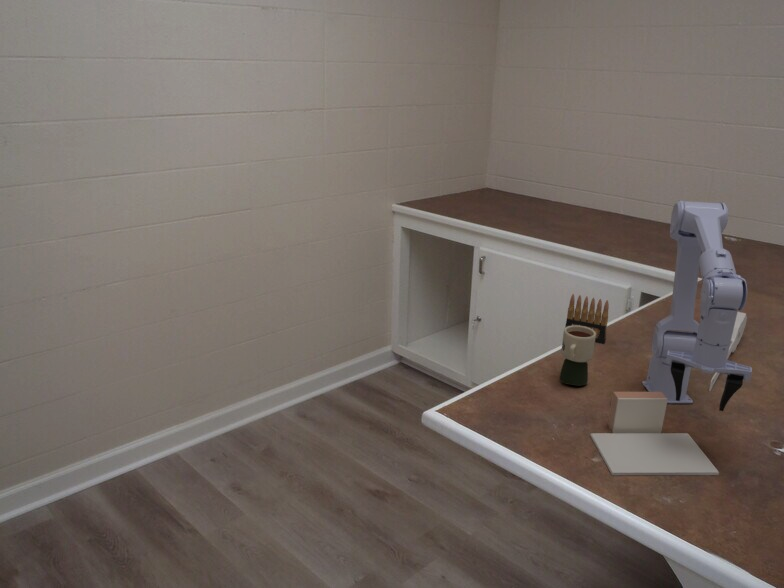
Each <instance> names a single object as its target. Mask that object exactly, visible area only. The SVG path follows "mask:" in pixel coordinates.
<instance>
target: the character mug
mask: <svg viewBox="0 0 784 588" xmlns="http://www.w3.org/2000/svg"><path fill="white" fill-rule="evenodd" d="M595 337H596V332H595V331H594V330H592V329H591V328H588V327H585V326H580V325H579V326H576V325H572V326H568V327H564V329H563V334H562V344H561V349H560V350H561V351H560V353H561V355H562V356H563V357H564V358H565V359H564V360H563V362H562V363H563V364H562V366H561V370H560V374H559V380H560V382H562V383H563V384H566V385H571V386H580V387H581V386H584V385H587V383H588V379H589V378H588V377H589V373H588V371H589V369H588V368H589V367H588V365H589V363H588V362H590V361H592V360H593V356H594V350H595V343H596V342H595Z"/></svg>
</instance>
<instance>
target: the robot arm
mask: <svg viewBox="0 0 784 588" xmlns="http://www.w3.org/2000/svg"><path fill="white" fill-rule="evenodd" d="M671 211H672V212H671V218H670V226H669V238H671V239H672V240H674V241H676V246H677V247H676V248H677V249H676V250H677V252H676V262H675V270H674V277H673V278H674V279H673V285H672V286H673V288H672V296H671V306H670V313H669V315H668V316H667V317H664V318H663V319H660V320H659V321H658V322H657V323H656V325H655V326H654V333H653V336H652V339H651V352H652V355H651V357H650V360H649V365H648V370H647V375H646V380H643V381H642V382H641V383H642V385H643V386H644V388H645V389H646V390H647V392H662V393H663V394H664V395H665V397H666V398H667V399H668V401H667V404H693V403H694V401H693V399H692V398H691V397H690V396H689V395H688V394H687V390H688V387H689V381H690V376H691V371H692V368H695V369H698V370H700V372H703V373H705V374H706V373H707V374H714V373H716V372H717V373H720V374H723V375H726V380H725V385H724V389H723V392H722V396H721V399H720V401H719V402H720V403H719V408H718V410H719V411H720V412H724V411H725V408H726V406H727V404H728V403H729V401H730V399H731V398H732V397H733V396H734V394H735V393H737V391H739V390H740V389H741V388H742V386H743V383H744V381H750V380H751V377H752V373H753V367H751V366H747V365H743V364H740V363H737V362H735V361H731V360H729V359H727V356H728V351H729V347H730V342H731V338H732V334H733V329H734V325H735V321H736V316H737V312H738V311H742V310H743V309H744V308H745V306H746V303H747V298H748V286H747V281H746V279H745V278H743V277H742V276H741V275H739V274H737V271H736V268H735V264H734V261H733V260H734V259H733V256H732V254H731V252H730V251H729V250H728V249H725V248H724V246H723V245H724V243H723V237H722V235H723V233H724V231H725V229H726V227H727V225H728V221H729V209H728V206H727V205H726V203H725V202H719V203H718V202H706V201H704V202H703V201H687V200H677V201H676V202H675V204H674V205H673V208H672V210H671ZM699 271H700V273H699ZM699 274H701V279H702V286H701V291H700V305H699V314H700V320H699V322H698V321H697V320H695V318H694V317H695V316H694V315H695V307H696V299H697V291H698V290H697V289H698V281H699Z"/></svg>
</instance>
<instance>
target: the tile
mask: <svg viewBox="0 0 784 588" xmlns="http://www.w3.org/2000/svg"><path fill="white" fill-rule="evenodd" d="M667 401H668V399H667V398H666V397H665V395H664V394H663V393H662V392H649V391H613V393H612V399H611V403H610V404H611V405H610V409H609V410H610V411H609V416H608V417H609V418H608V424H607V427H608V428H609V429H610V431H611V433H662V431H663V426H664V420H665V415H666V411H667V404H668V403H667Z"/></svg>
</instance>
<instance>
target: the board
mask: <svg viewBox="0 0 784 588" xmlns="http://www.w3.org/2000/svg"><path fill="white" fill-rule="evenodd" d="M589 435H590V438H591V440H592V442H593V443H594V445H595V447H596V449H597V450H598V452H599V454H600V456H601V458H602V460H603V461H604V463H605V466H606V467H607V468H608V470H609V472H610V474H611V476H719V475H720V472H719V470H718V469H717V468H716V467H715V465H714V464H713V463H712V462H711V460H710V459H709V458H708V456H707V455H706V454H705V453H704V452H703V450H702V449H701V447H699V445H698V444H697V443H696V441H694V439H693V438H692V437H691V436H690V434H689V433H687V432H685V433H684V432H682V433H680V432H679V433H678V432H677V433H676V432H675V433H674V432H673V433H671V432H670V433H669V432H667V433H666V432H665V433H664V432H661V433H612V432H611V433H608V432H604V433H601V432H600V433H599V432H597V433H596V432H595V433H594V432H593V433H590V434H589Z"/></svg>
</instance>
